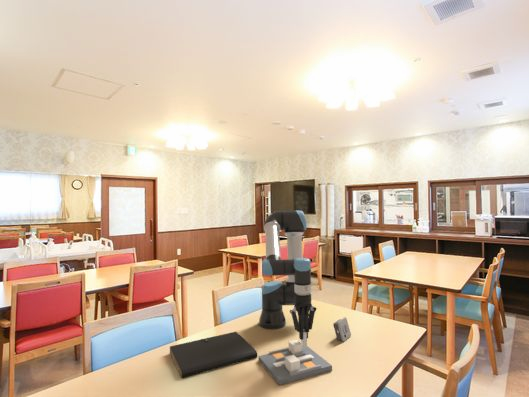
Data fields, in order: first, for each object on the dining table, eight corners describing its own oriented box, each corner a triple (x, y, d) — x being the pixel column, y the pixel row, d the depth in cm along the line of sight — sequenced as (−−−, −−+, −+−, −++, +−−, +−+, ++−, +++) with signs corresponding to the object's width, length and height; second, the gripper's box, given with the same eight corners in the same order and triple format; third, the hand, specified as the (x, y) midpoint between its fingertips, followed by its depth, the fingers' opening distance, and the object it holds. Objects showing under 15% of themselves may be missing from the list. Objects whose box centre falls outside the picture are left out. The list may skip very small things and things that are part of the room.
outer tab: (285, 367, 122) (284, 356, 122) (293, 364, 123) (293, 354, 123) (291, 373, 117) (290, 362, 117) (300, 370, 119) (299, 360, 119)
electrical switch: (343, 342, 148) (341, 322, 149) (334, 340, 151) (332, 321, 152) (351, 336, 155) (349, 317, 156) (342, 334, 158) (340, 316, 159)
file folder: (235, 330, 155) (257, 350, 134) (235, 338, 155) (257, 359, 134) (169, 345, 139) (182, 370, 118) (169, 354, 139) (182, 381, 118)
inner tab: (288, 350, 136) (288, 341, 136) (296, 348, 137) (296, 339, 137) (294, 355, 131) (293, 345, 131) (302, 353, 133) (301, 344, 133)
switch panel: (258, 360, 131) (258, 353, 132) (306, 349, 141) (306, 343, 141) (278, 385, 113) (278, 377, 113) (332, 370, 123) (331, 362, 123)
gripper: (294, 297, 131) (295, 352, 130) (319, 293, 136) (320, 346, 135) (286, 292, 137) (287, 345, 137) (310, 289, 143) (311, 340, 142)
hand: (303, 346), depth 136 cm, fingers closed
